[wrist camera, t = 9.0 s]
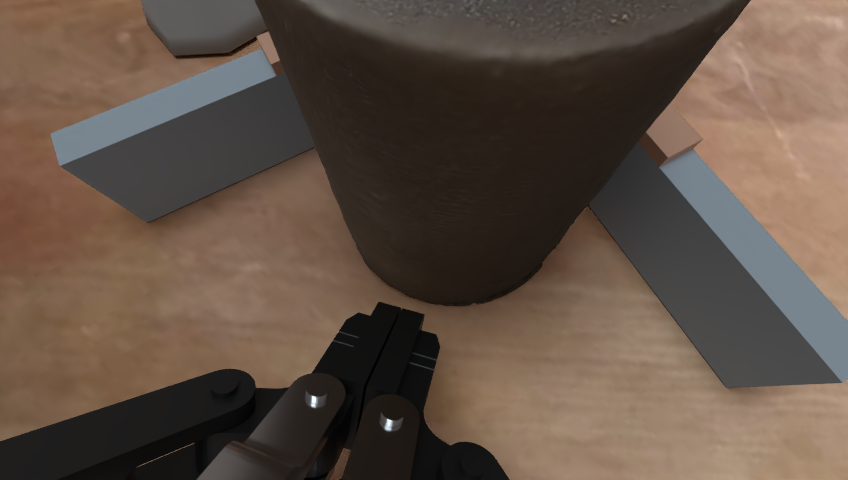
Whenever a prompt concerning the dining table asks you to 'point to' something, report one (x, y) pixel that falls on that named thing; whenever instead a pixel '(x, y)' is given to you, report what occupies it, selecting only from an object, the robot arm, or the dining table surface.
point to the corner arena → (614, 205)
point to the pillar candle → (480, 120)
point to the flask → (203, 24)
